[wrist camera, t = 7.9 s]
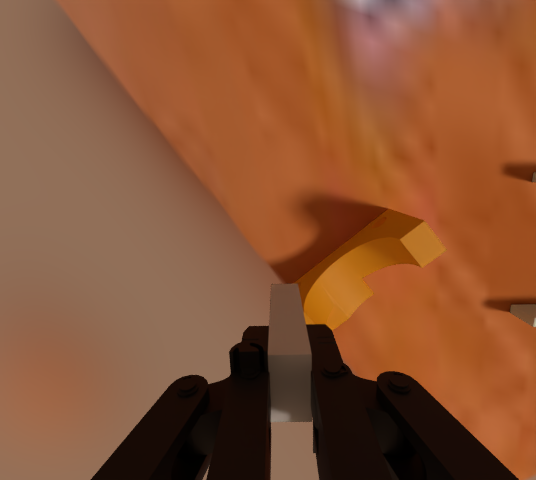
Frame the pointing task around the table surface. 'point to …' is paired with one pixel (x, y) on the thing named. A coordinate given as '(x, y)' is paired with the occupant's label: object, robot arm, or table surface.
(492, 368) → the table surface
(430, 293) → the table surface
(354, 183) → the table surface
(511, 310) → the frame
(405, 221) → the pipe clamp
